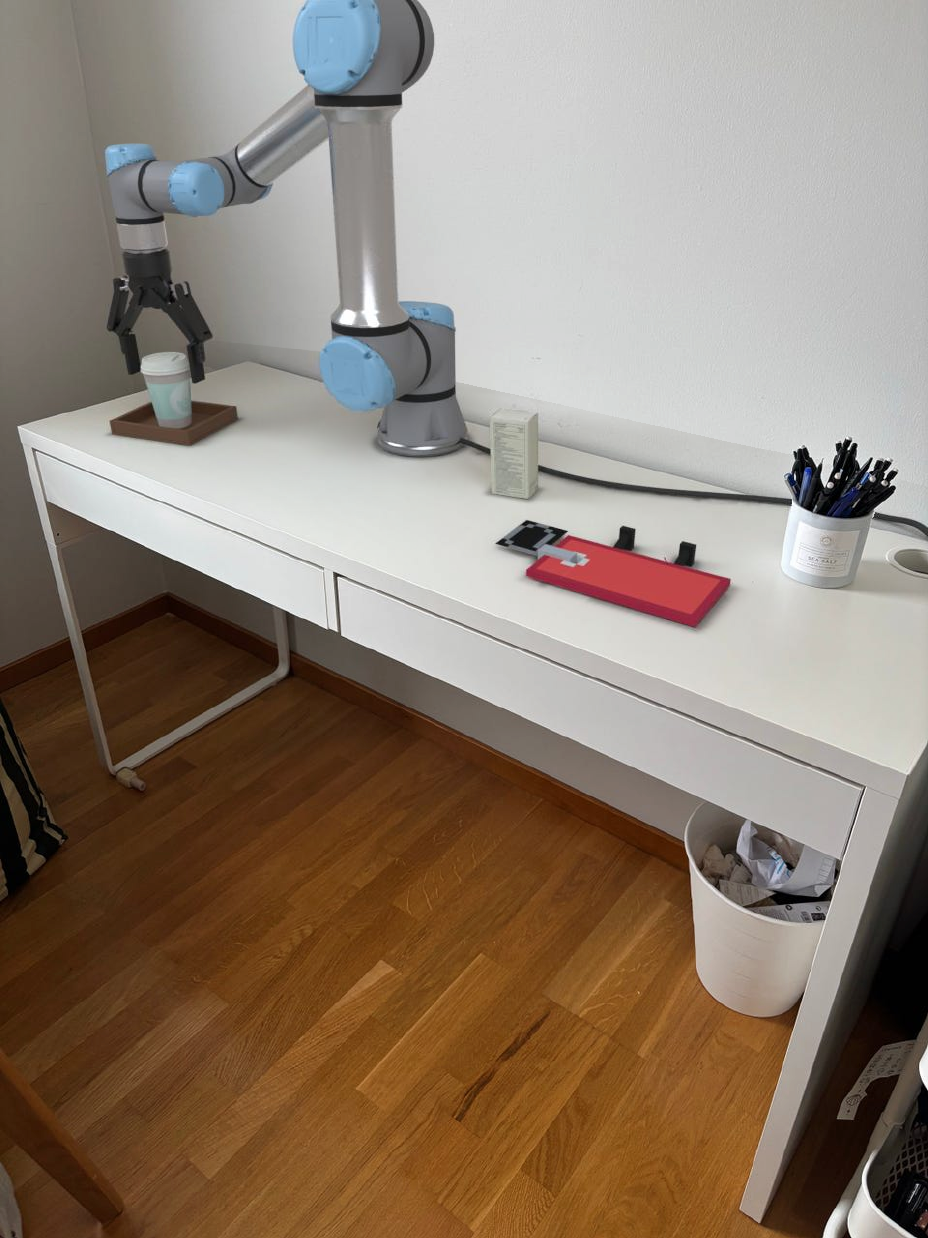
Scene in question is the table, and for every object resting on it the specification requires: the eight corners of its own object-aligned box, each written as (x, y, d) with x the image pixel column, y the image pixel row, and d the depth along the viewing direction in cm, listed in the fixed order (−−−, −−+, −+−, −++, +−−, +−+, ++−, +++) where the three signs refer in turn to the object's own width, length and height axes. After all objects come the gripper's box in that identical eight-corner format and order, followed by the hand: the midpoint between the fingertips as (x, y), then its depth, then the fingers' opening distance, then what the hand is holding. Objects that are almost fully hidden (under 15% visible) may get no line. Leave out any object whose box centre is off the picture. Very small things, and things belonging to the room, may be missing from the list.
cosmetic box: (538, 489, 145) (540, 411, 139) (527, 500, 142) (529, 421, 135) (500, 483, 147) (500, 406, 141) (489, 493, 144) (488, 415, 138)
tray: (238, 419, 175) (236, 406, 174) (189, 445, 164) (187, 431, 162) (164, 409, 181) (161, 396, 179) (112, 434, 169) (109, 420, 168)
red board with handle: (533, 520, 135) (475, 564, 124) (533, 502, 133) (475, 545, 123) (739, 576, 121) (694, 630, 110) (742, 556, 119) (697, 609, 109)
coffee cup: (174, 435, 167) (162, 366, 161) (140, 426, 171) (127, 359, 165) (210, 420, 173) (199, 354, 167) (176, 413, 177) (165, 348, 171)
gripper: (222, 250, 155) (238, 378, 166) (100, 240, 164) (123, 363, 175) (194, 258, 150) (213, 391, 161) (69, 247, 158) (95, 374, 169)
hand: (166, 377), depth 168 cm, fingers open, 13 cm apart
